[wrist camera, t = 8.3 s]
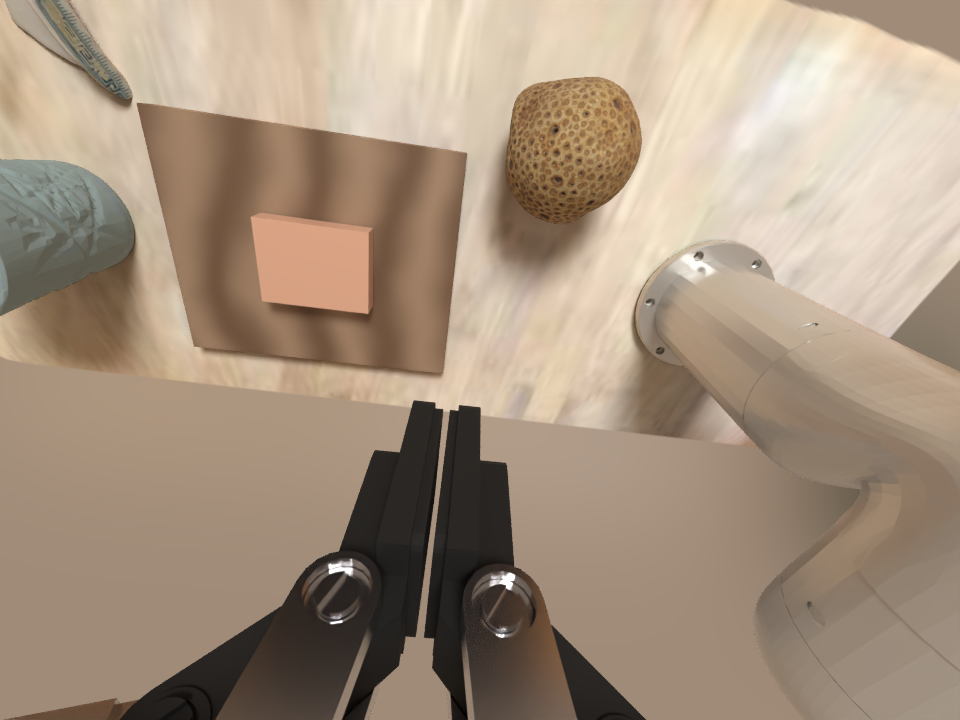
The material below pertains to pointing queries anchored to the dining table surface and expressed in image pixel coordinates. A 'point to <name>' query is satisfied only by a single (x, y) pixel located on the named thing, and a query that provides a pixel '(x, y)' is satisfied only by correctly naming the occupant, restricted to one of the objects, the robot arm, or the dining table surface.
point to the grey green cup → (56, 228)
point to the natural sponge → (571, 146)
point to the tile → (314, 262)
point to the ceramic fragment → (67, 39)
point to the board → (317, 196)
